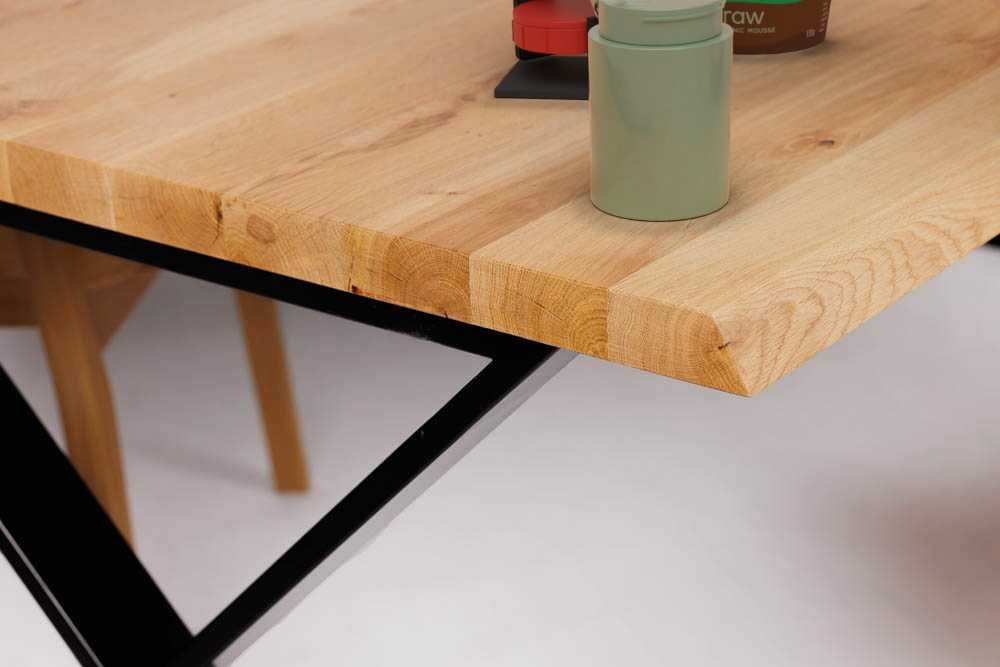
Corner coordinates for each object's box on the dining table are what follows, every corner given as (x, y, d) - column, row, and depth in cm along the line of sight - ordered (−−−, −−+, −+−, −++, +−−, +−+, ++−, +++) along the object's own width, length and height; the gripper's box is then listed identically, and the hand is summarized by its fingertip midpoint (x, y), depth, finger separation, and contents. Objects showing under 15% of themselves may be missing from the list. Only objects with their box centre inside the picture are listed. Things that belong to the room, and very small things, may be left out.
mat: (646, 64, 91) (646, 57, 91) (627, 100, 84) (627, 92, 84) (522, 62, 93) (522, 54, 93) (494, 97, 86) (493, 89, 86)
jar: (734, 176, 71) (740, -20, 67) (722, 224, 65) (727, 13, 61) (602, 172, 73) (600, -21, 69) (579, 218, 67) (575, 11, 63)
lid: (622, 55, 83) (622, 22, 82) (502, 54, 85) (500, 21, 84) (640, 26, 90) (640, -5, 89) (527, 25, 91) (526, -5, 90)
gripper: (719, -246, 75) (714, 86, 83) (537, -252, 89) (547, 33, 97) (602, -235, 72) (607, 111, 79) (431, -243, 86) (450, 52, 93)
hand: (574, 66), depth 88 cm, fingers closed on lid, 7 cm apart
